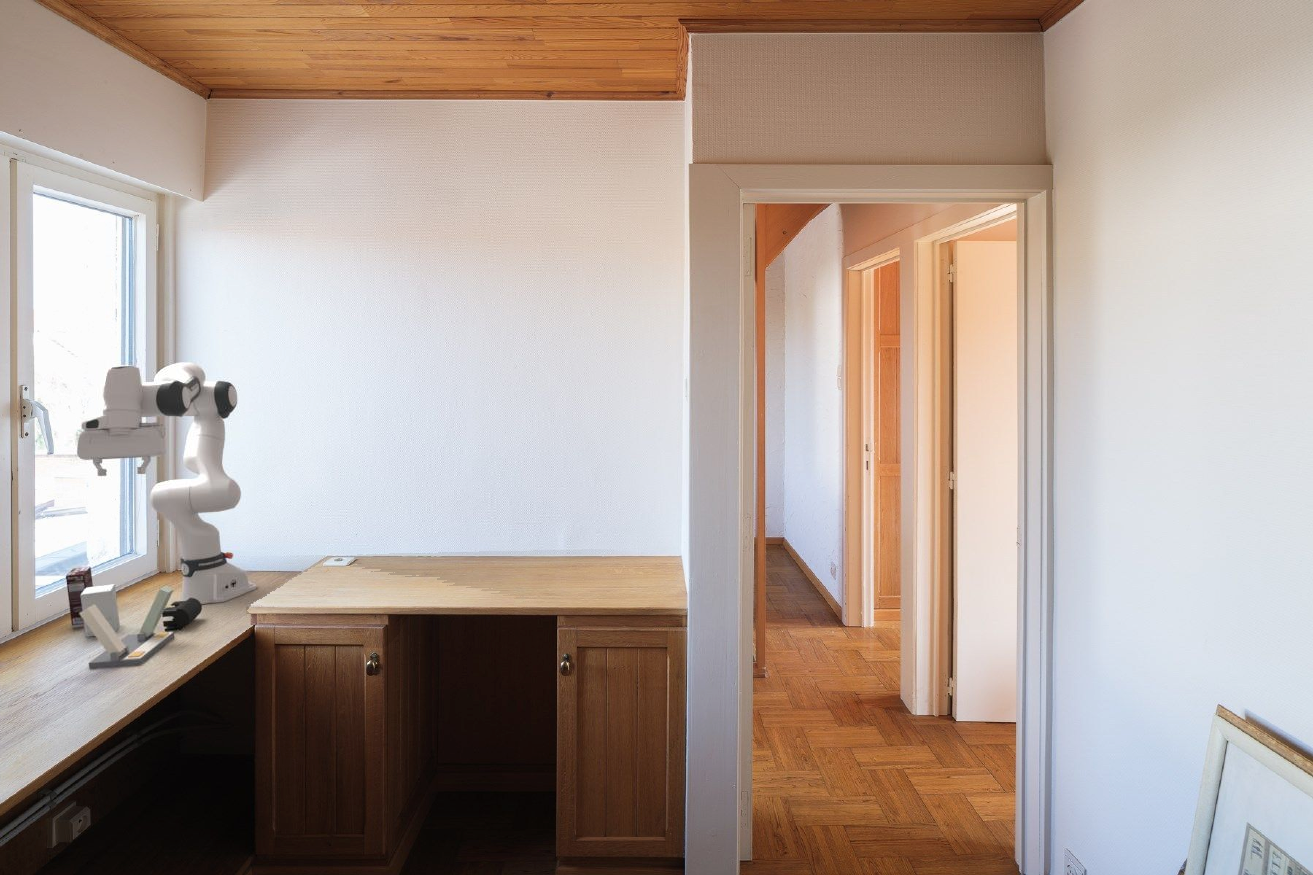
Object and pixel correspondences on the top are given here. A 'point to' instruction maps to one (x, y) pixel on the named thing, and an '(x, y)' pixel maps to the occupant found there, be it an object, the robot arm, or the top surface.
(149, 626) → the bar
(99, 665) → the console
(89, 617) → the bar
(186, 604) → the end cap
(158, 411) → the robot arm
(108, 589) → the supplement box
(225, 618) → the top surface
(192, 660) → the top surface
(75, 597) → the supplement box
